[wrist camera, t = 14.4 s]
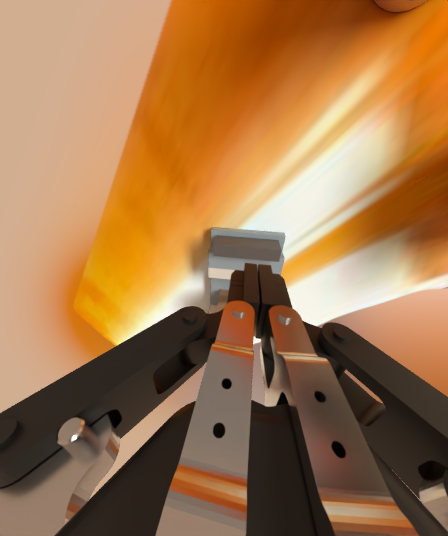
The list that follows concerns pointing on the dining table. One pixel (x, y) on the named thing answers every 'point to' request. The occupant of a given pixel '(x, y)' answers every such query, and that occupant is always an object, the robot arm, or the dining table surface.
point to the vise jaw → (242, 255)
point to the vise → (225, 283)
